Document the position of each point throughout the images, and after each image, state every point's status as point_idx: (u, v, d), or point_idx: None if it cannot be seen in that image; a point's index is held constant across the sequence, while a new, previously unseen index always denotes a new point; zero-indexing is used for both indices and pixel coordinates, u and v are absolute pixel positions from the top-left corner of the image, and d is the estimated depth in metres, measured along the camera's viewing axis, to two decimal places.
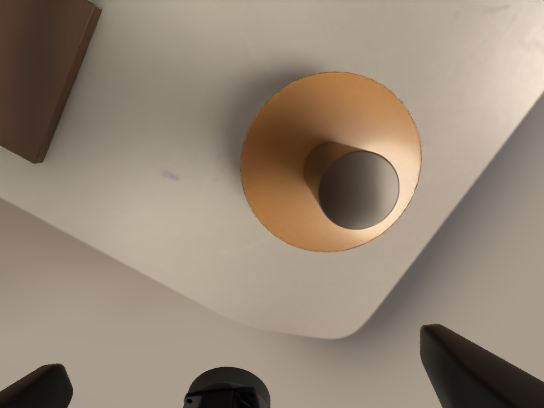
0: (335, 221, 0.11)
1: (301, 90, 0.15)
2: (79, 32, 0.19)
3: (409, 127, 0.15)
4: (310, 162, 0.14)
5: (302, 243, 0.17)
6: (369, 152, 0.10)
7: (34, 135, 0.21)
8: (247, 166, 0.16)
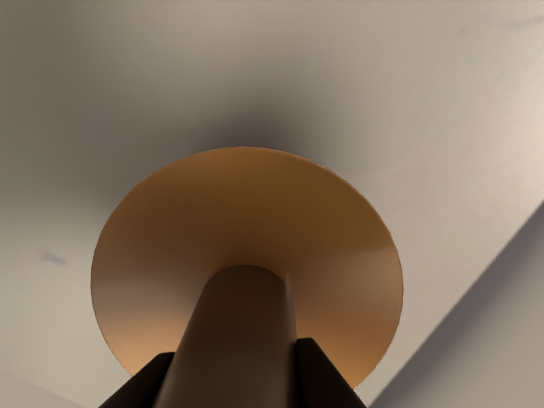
0: None
1: (182, 179, 0.08)
2: None
3: (380, 241, 0.08)
4: (185, 329, 0.07)
5: None
6: None
7: None
8: (103, 300, 0.09)
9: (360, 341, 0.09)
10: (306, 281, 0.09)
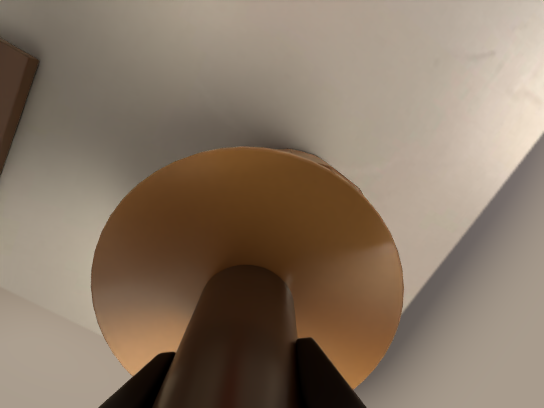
0: None
1: (183, 179, 0.08)
2: (14, 87, 0.17)
3: (380, 241, 0.08)
4: (186, 328, 0.07)
5: None
6: None
7: None
8: (103, 300, 0.09)
9: (360, 340, 0.09)
10: (307, 280, 0.09)
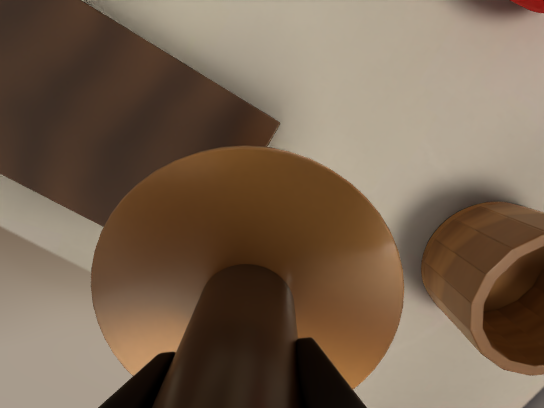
0: None
1: (183, 179, 0.08)
2: None
3: (381, 240, 0.08)
4: (186, 328, 0.07)
5: None
6: None
7: None
8: (103, 300, 0.09)
9: (360, 340, 0.09)
10: (307, 280, 0.09)
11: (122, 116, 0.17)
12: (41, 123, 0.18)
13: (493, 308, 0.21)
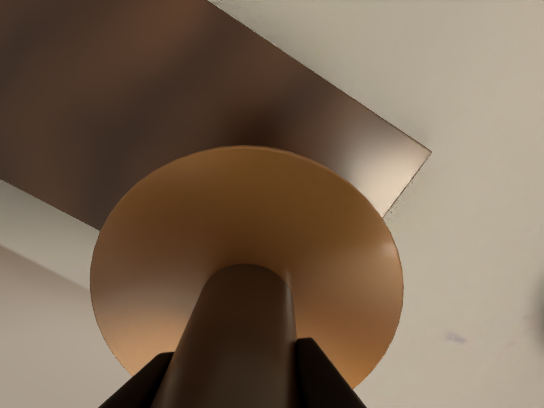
0: None
1: (182, 178, 0.08)
2: (402, 184, 0.14)
3: (380, 240, 0.08)
4: (185, 328, 0.07)
5: None
6: None
7: None
8: (102, 300, 0.09)
9: (359, 340, 0.09)
10: (306, 279, 0.09)
11: (227, 140, 0.13)
12: (119, 148, 0.13)
13: None
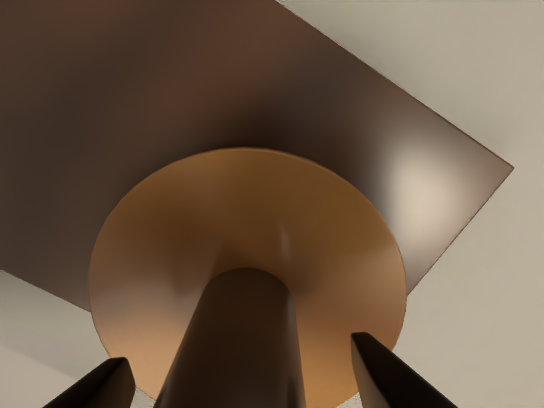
0: None
1: (181, 181, 0.08)
2: (466, 215, 0.09)
3: (383, 243, 0.08)
4: (184, 334, 0.07)
5: None
6: None
7: None
8: (100, 304, 0.09)
9: None
10: (308, 283, 0.09)
11: (204, 151, 0.09)
12: (43, 162, 0.09)
13: None
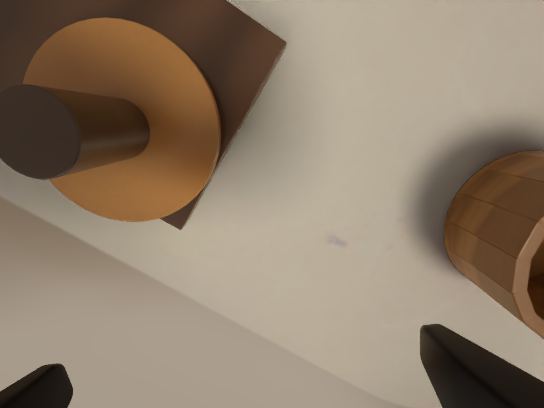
0: (15, 169, 0.09)
1: (71, 38, 0.13)
2: (262, 75, 0.15)
3: (197, 82, 0.14)
4: None
5: (106, 211, 0.16)
6: (31, 86, 0.09)
7: None
8: None
9: (195, 156, 0.15)
10: (155, 110, 0.14)
11: None
12: None
13: None
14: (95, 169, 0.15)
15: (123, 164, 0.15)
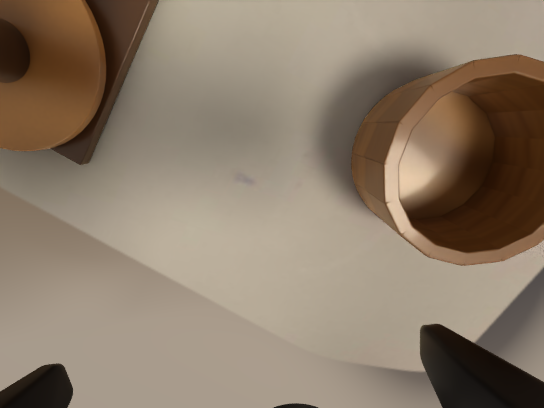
0: None
1: None
2: None
3: None
4: None
5: None
6: None
7: None
8: None
9: (78, 79, 0.15)
10: (33, 30, 0.14)
11: None
12: None
13: (435, 214, 0.18)
14: None
15: (7, 88, 0.15)
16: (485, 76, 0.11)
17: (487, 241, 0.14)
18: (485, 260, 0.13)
